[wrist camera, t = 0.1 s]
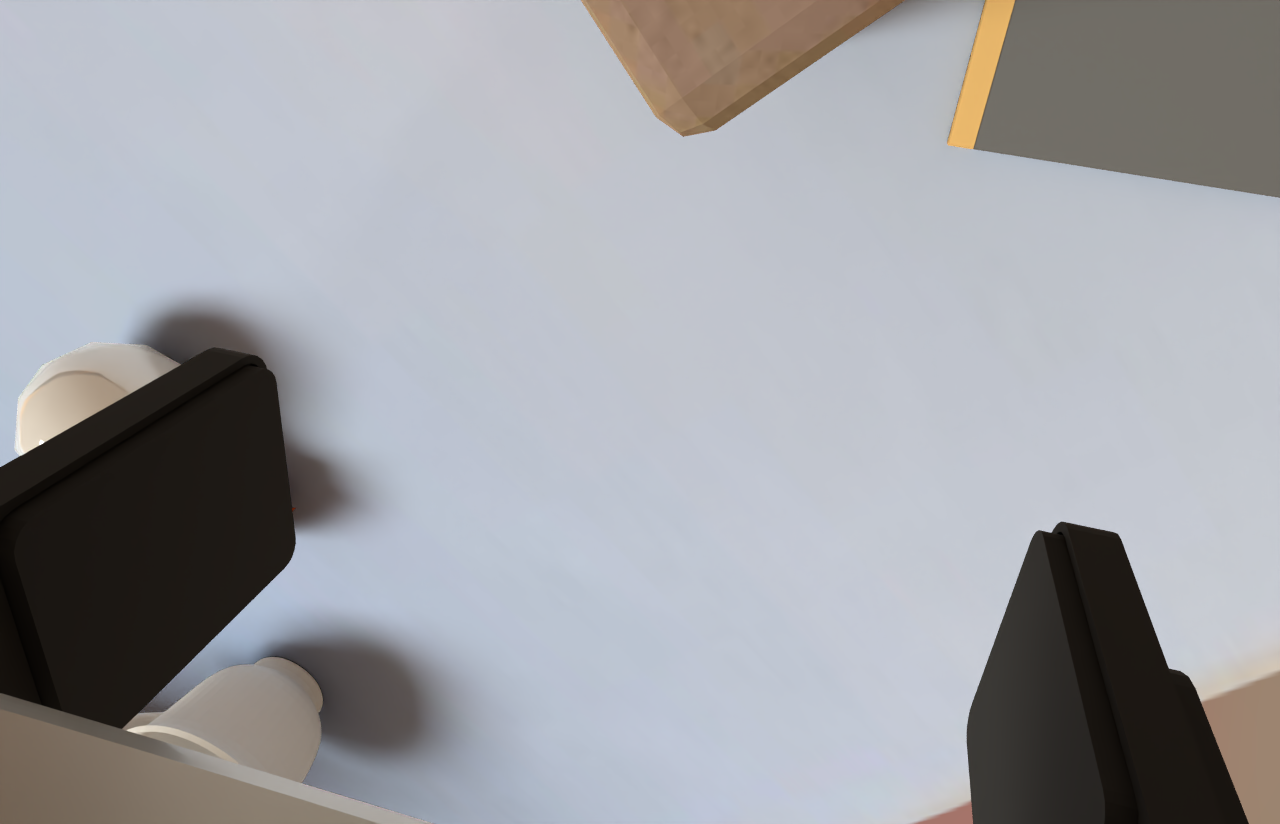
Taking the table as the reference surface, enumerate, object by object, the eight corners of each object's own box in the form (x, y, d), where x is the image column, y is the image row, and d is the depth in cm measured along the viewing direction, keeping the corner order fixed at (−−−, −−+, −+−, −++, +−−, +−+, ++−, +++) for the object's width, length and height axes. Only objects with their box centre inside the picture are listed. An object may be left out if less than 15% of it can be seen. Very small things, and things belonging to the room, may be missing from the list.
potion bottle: (131, 300, 54) (322, 468, 58) (6, 415, 53) (211, 577, 57) (83, 304, 45) (313, 501, 49) (-68, 443, 44) (181, 631, 48)
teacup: (165, 594, 63) (48, 695, 54) (356, 643, 60) (264, 758, 51) (194, 716, 68) (92, 826, 60) (369, 767, 66) (289, 889, 57)
